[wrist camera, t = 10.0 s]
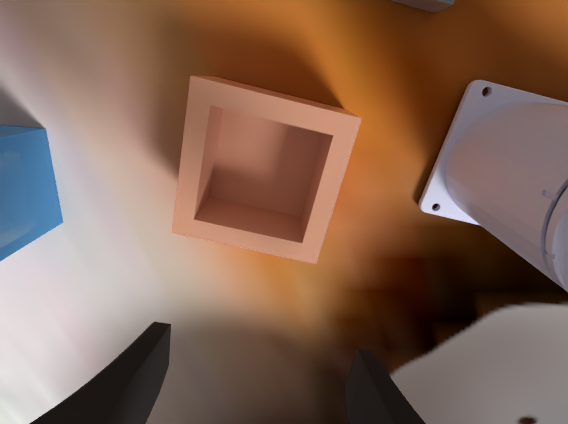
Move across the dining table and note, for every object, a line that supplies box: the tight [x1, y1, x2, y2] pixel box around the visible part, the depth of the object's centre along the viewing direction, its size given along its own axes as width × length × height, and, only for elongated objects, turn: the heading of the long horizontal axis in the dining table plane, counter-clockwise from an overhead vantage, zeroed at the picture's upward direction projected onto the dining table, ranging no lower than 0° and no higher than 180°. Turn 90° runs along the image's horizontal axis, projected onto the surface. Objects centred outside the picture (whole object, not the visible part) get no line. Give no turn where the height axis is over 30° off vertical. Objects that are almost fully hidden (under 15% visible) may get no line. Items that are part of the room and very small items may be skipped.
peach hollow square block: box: [172, 76, 362, 264], centre depth 18 cm, size 8×8×5 cm
